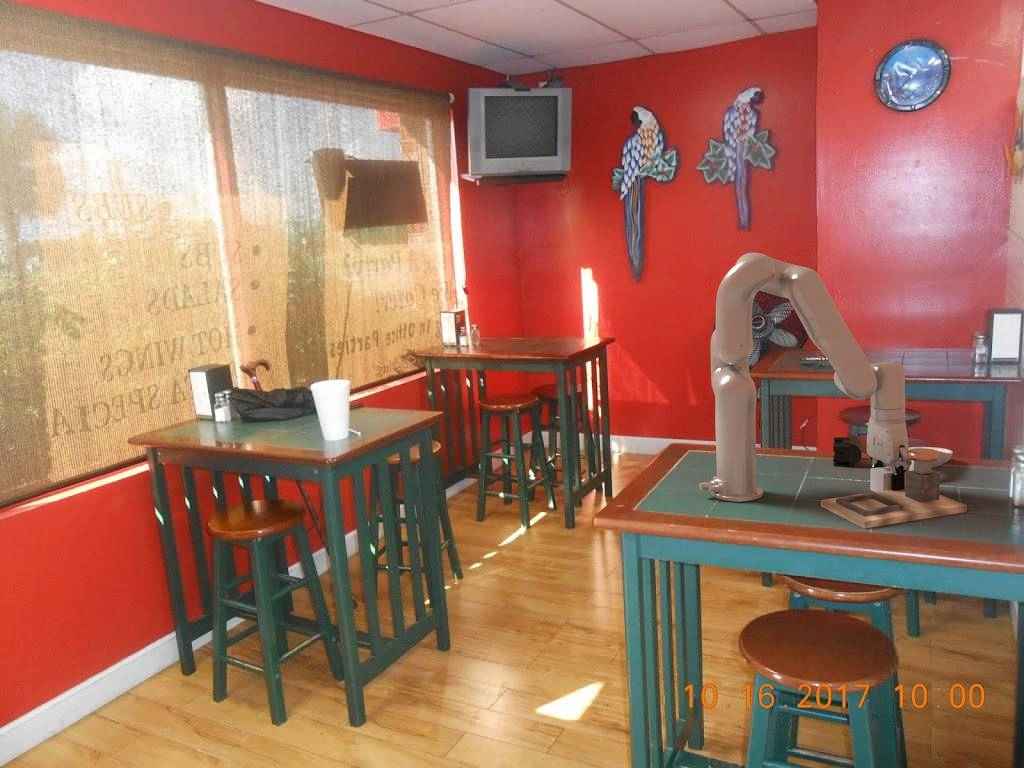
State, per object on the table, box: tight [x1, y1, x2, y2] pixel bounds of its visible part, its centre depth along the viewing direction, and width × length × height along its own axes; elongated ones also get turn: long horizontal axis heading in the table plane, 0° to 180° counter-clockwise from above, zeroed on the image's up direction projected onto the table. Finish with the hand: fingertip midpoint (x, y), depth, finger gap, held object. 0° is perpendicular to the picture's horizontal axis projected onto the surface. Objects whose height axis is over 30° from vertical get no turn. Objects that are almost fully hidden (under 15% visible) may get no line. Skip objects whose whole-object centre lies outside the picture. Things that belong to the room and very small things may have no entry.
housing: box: [869, 465, 893, 492], centre depth 198 cm, size 5×5×6 cm
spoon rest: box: [908, 446, 954, 471], centre depth 213 cm, size 24×12×7 cm, turn 147°
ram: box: [907, 448, 939, 476], centre depth 187 cm, size 6×6×7 cm
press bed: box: [820, 470, 968, 529], centre depth 186 cm, size 26×16×8 cm, turn 103°
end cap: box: [832, 434, 863, 468], centre depth 223 cm, size 10×7×7 cm
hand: (888, 485), depth 198 cm, fingers open, 6 cm apart
